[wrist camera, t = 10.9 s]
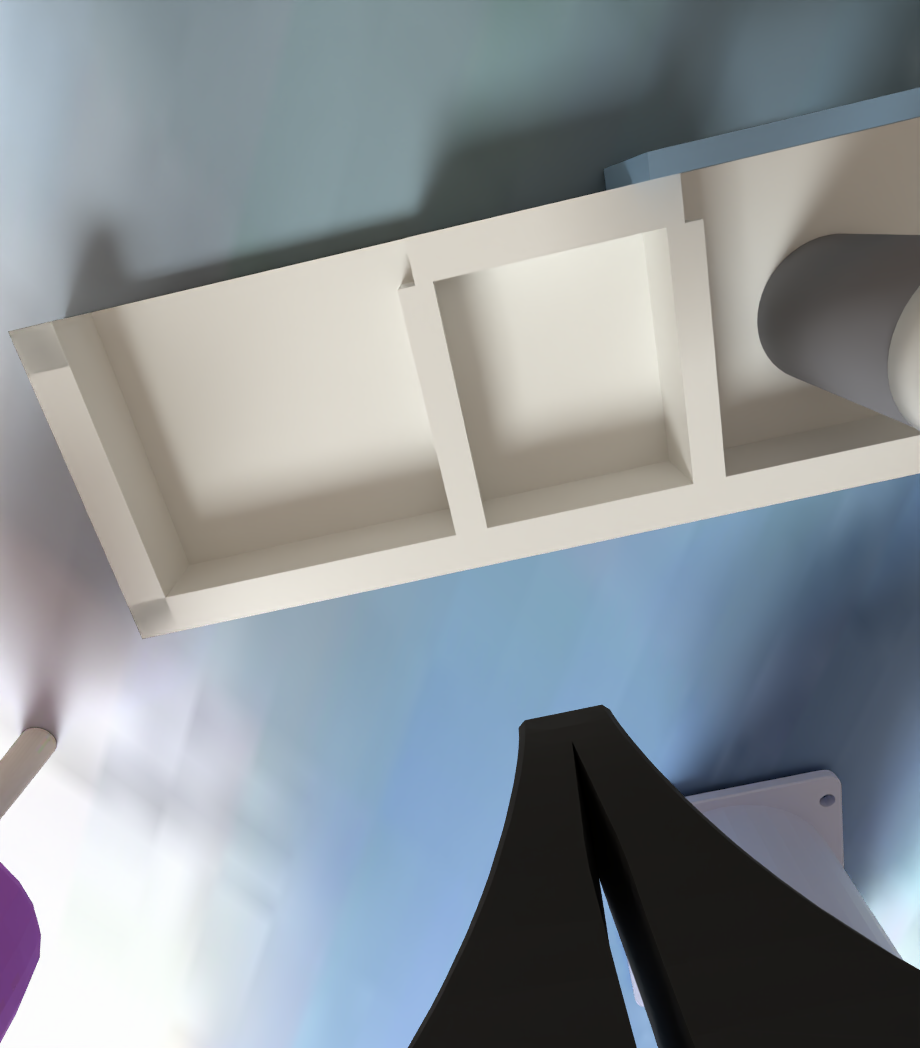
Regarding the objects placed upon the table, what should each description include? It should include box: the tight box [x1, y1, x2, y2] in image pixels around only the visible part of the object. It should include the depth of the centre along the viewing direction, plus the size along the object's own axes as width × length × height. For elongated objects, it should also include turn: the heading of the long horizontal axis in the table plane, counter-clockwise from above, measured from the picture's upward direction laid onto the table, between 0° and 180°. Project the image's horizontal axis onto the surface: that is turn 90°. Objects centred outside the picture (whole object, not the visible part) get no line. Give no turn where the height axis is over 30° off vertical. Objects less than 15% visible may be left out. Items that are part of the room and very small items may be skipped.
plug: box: [757, 234, 920, 431], centre depth 15 cm, size 4×4×7 cm
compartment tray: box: [8, 87, 920, 639], centre depth 18 cm, size 8×24×4 cm, turn 102°
